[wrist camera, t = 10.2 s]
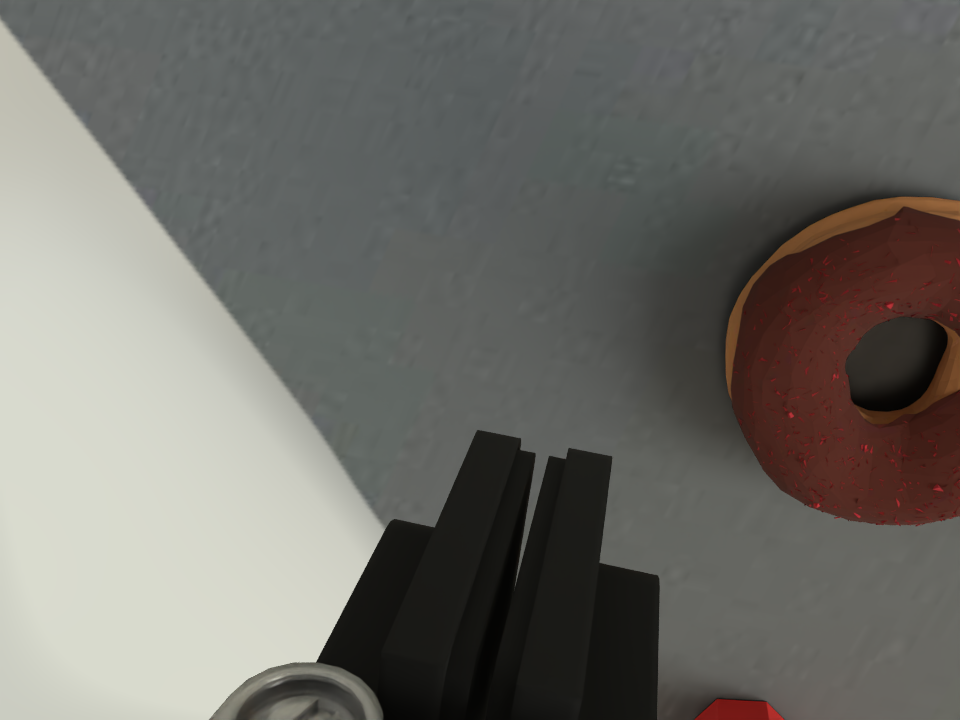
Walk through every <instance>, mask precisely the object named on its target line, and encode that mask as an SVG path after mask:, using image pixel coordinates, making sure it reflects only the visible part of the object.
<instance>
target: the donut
mask: <svg viewBox="0 0 960 720" xmlns="http://www.w3.org/2000/svg"><path fill="white" fill-rule="evenodd" d="M901 316H903V317H914V318H923V319H930V320H934V321H935V322H937V323H938V324H940V325H941V326H942V327H943V328H945V330H946V332H947V336H948V343H947V348H946V350H945V352H944V354H943V357H942V359H941V361H940V363H939V366H938V368H937V371H936V373H935V376H934V378H933V380H932V382H931V384H930V386H929V387H928V389H927V391H926V392H925V393H924V394H923V395H922V396H921V398H920V399H918V400H917V401H916V402H914V403H913V404H911V405H910V406H908V407H906V408H903V409H901V410H895V411H889V412H884V411H870V410H866V409H864V408H861V407H859V406H857V405H855V404H854V403H853V402H852V401H853V400H852V401H851V396H850V387H849V380H848V377H849V376H848V375H847V374H846V371H845V362H846V360H847V357H848V355H849V354H850V353H851V352H852V350H854V349H855V348H856V345H857V344H858V343H859V341H860V340H861V338H862V336H863V335H864V334H865V333H866V332H867V331H869V330H870V329H871V328H873V327H874V326H875V325H877V324H880V323H882V322H885V321H887V320H888V322H889V320H890V319H893V318H897V317H901ZM725 362H726V379H727V386H728V392H729V396H730V398H731V400H732V407H733V410H734V413H735V416H736V418H737V420H738V422H739V425H740V427H741V429H742V432H743V434H744V436H745V438H746V440H747V442H748V444H749V445H750V447H751V449H752V451H753V452H754V454H755V456H756V458H757V459H758V461H759V463H760V465H761V466H762V468H763V470H764V471H765V473H766V474H767V475H768V476H769V477H770V478H771V479H772V480H773V482H774V483H775V484H776V485H777V486H778V487H779V488H780V490H782V491H784V492H785V493H787V494H789V495H790V496H792V497H794V498H795V499H797V500H799V501H800V502H802V503H804V504H805V505H807V506H809V507H811V508H814V509H817V510H820V511H821V512H826V513H829V514H832V515H835V516H838V517H835V518H840V517H841V518H844V519H847V520H848V521H849V520H850V521H859V522H868V523H872V524H873V523H876V525H884V524H886V525H910V526H911V525H915V524H918V525H920V524H922V525H923V524H925V523H930V522H936V521H940V520H941V521H942V520H945V519H949V518H950V519H952V518H953V517H958V516H960V201H956V200H949V199H941V198H934V197H894V198H887V199H879V200H873V201H870V202H867V203H864V204H860V205H857V206H854V207H851V208H848V209H845V210H842V211H840V212H837V213H834V214H832V215H830V216H828V217H826V218H824V219H822V220H820V221H818V222H816V223H814V224H812V225H810V226H808V227H807V228H805V229H804V230H803V231H801V232H800V233H798V234H797V235H795V236H794V237H793V238H791V239H790V240H788V241H787V242H786V243H784V244H783V245H782V246H781V247H780V248H779V249H778V250H777V251H776V252H775V253H774V254H773V255H772V256H771V257H770V258H769V259H768V260H767V261H766V262H765V264H764V265H763V266H762V267H761V268H760V269H759V270H758V271H757V272H756V273H755V274H754V275H753V276H752V277H751V279H750V280H749V282H748V283H747V285H746V286H745V287H744V289H743V290H742V292H741V294H740V295H739V297H738V299H737V302H736V304H735V306H734V308H733V311H732V313H731V316H730V318H729V323H728V329H727V335H726V352H725ZM850 521H849V522H850ZM859 522H858V523H859ZM918 525H916V526H918ZM920 526H921V525H920Z"/></svg>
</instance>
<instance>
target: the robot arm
mask: <svg viewBox="0 0 960 720" xmlns="http://www.w3.org/2000/svg"><path fill="white" fill-rule="evenodd" d="M520 447H521V438H516V437H511V436H506V435H501V434H496V433H491V432H486V431H480V430H477V432H476V434H475V436H474V438H473V441H472V443H471V445H470V448H469V450H468V452H467V455H466V457H465V459H464V461H463V464H462V466H461V468H460V471H459V473H458V475H457V478H456V480H455V482H454V485H453V487H452V489H451V491H450V494H449V496H448V498H447V501H446V503H445V505H444V508H443V510H442V512H441V515H440V517H439V519H438V521H437V524H436V526H435V528H434V527H429V526H425V525H420V524H415V523H411V522H406V521H401V520H397V519H394V520H392V521H390V523H389V525H388V526H387V528H386V529H385V531H384V533H383V535H382V537H381V539H380V541H379V543H378V545H377V547H376V549H375V550H374V552H373V554H372V556H371V558H370V560H369V562H368V564H367V566H366V568H365V570H364V572H363V574H362V575H361V578H360V580H359V581H358V583H357V585H356V587H355V589H354V591H353V593H352V595H351V596H350V598H349V600H348V602H347V605H346V606H345V608H344V610H343V612H342V614H341V616H340V618H339V619H338V621H337V624H336V625H335V627H334V629H333V631H332V633H331V635H330V637H329V639H328V641H327V643H326V645H325V646H324V648H323V650H322V652H321V654H320V656H319V658H318V660H317V662H316V663H290V664H286V665H282V666H278V667H273V668H270V669H267V670H265V671H264V672H261V673H259V674H257V675H255V676H253V677H251V678H249V679H248V680H246V681H245V682H244V683H243V684H242V685H241V686H240V687H239V688H237V689H236V690H235V691H234V692H233V693H232V694H231V695H230V696H229V697H228V698H227V699H226V701H225V702H224V703H223V704H222V705H221V706H220V708H219V709H218V710H217V711H216V712H215V713H214V715H213V716H212V717H211V718H210V719H209V720H657V686H658V638H659V590H660V586H659V577H658V575H653V574H648V573H644V572H639V571H634V570H630V569H625V568H620V567H616V566H611V565H606V564H602V563H599V560H600V552H601V544H602V536H603V528H604V520H605V512H606V504H607V496H608V488H609V480H610V472H611V464H612V456H607V455H602V454H597V453H592V452H587V451H582V450H577V449H571V448H569V449H568V453H567V457H566V459H562V458H557V457H552V456H549V458H548V462H547V466H546V470H545V474H544V478H543V482H542V485H541V489H540V493H539V497H538V501H537V505H536V509H535V512H534V516H533V520H532V524H531V528H530V532H529V536H528V540H527V543H526V547H525V551H524V555H523V559H522V563H521V567H520V571H519V574H518V578H517V582H516V576H517V569H518V563H519V557H520V551H521V544H522V538H523V532H524V526H525V519H526V513H527V507H528V501H529V495H530V488H531V482H532V476H533V470H534V463H535V453H532V452H527V451H522V450H520ZM515 582H516V586H515ZM514 588H515V590H514Z"/></svg>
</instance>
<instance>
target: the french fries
mask: <svg viewBox="0 0 960 720" xmlns="http://www.w3.org/2000/svg"><path fill="white" fill-rule="evenodd" d="M694 720H784V719H783V718H782V717H781V716H780V715H779V714H778V713H777V712H776V711H775V710H774V709H773V708H772V707H771V706H770V705H769V704H768V703H767V702H761V701H743V700H726V699H716V700H715V701H714V702H713V703H712V704H711V705H710V706H709V707H708V708H706V709H705V710H704V711H703V712H702V713H701V714H700V715H699V716H698V717H696V718H695V719H694Z"/></svg>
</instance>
